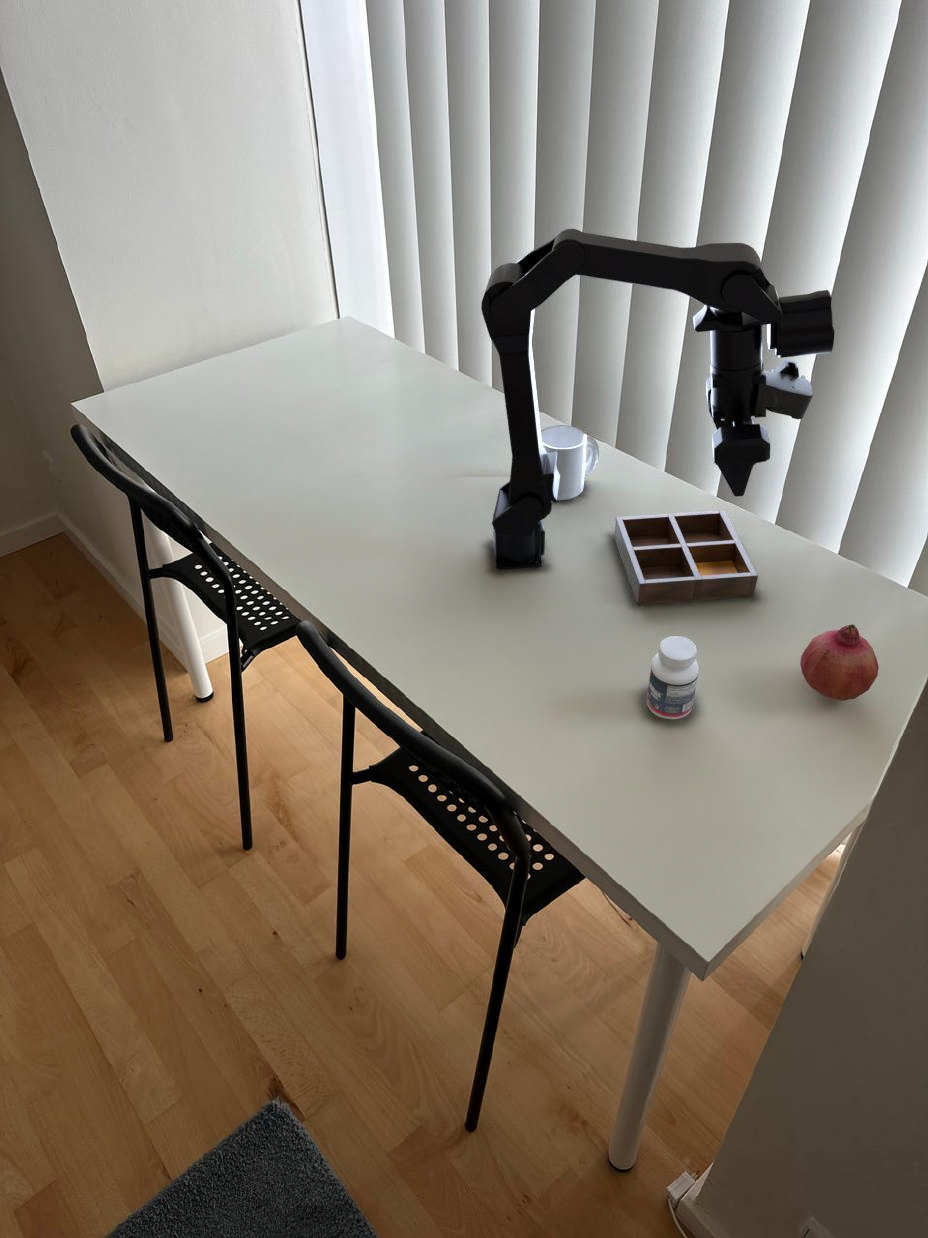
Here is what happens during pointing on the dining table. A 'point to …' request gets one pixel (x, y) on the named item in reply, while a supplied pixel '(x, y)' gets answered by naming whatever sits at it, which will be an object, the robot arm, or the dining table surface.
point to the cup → (570, 457)
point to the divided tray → (684, 557)
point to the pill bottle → (673, 678)
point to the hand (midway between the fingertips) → (736, 476)
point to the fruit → (839, 664)
